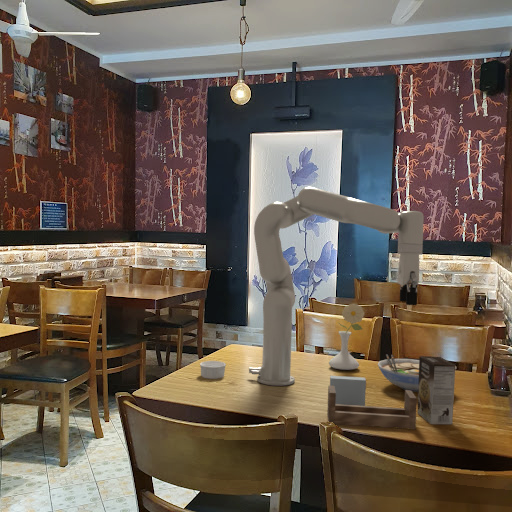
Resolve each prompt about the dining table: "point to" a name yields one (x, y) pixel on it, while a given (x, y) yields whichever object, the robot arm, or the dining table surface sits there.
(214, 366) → the ramekin
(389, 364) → the ramen bowl
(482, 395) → the dining table surface
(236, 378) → the dining table surface
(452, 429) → the dining table surface
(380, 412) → the frame
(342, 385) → the light grey rectangular block
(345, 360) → the flower in vase
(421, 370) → the coffee box
